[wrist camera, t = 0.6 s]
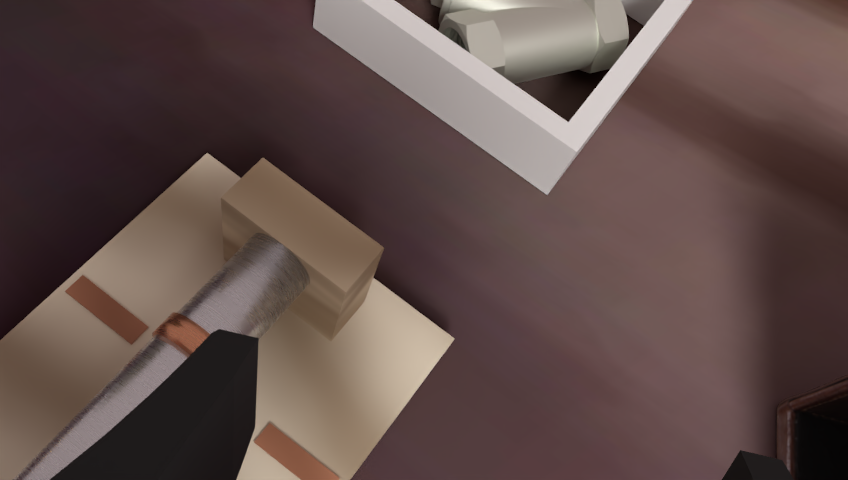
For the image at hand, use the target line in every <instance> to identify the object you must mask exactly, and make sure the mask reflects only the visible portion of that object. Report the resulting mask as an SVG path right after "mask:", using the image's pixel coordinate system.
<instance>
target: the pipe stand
mask: <svg viewBox="0 0 848 480" xmlns="http://www.w3.org/2000/svg"><path fill="white" fill-rule="evenodd" d="M256 233H262V234H266V235H268V236H270V237H272V238H274V239H276V240H277V241H279V242H280V243H282V244H283V245H284V246H285V247H287V248H288V249H289V250H290V251H291V252H292V253H293V254H294V255H295V256H296V257H297V258H298V259H299V260H300V261H301V263H302V264H303V265H304V267H305V268H306V270H307V272H308V274H309V277H310V284H309V285H308V286H307V287H306V288H305V289H304V291H303V292H302V293H301V294H300V295H299V296H298V297H297V298H296V299H295V301H294V302H293V303H292V304H291V305H290V306H289V307H288V308H287V309H286V311H285V312H284V313H283V314H282V315H281V316H280V317H279V318H278V319H277V321H276V322H275V323H274V324H273V325H272V326H271V327H270V328H269V329H268V331H267V332H266V333H265V334H264V335H263V336H262V337H261V338H260V340H259V343H258V368H257V394H256V419H255V429H254V432H253V435H252V438H251V440H250V443H249V446H248V449H247V452H246V455H245V458H244V460H243V463H242V466H241V469H240V471H239V474H238V477H237V479H236V480H350V479H351V478H352V477H353V475H354V474H355V473H356V471H357V470H358V469H359V467H360V466H361V464H362V463H363V462H364V460H365V459H366V458H367V456H368V455H369V454H370V452H371V451H372V450H373V448H374V447H375V446H376V444H377V443H378V442H379V440H380V439H381V438H382V436H383V435H384V434H385V432H386V431H387V429H388V428H389V427H390V425H391V424H392V423H393V421H394V420H395V419H396V417H397V416H398V415H399V413H400V412H401V411H402V409H403V408H404V407H405V405H406V404H407V403H408V401H409V400H410V399H411V397H412V396H413V395H414V393H415V392H416V390H417V389H418V388H419V386H420V385H421V384H422V382H423V381H424V380H425V378H426V377H427V376H428V374H429V373H430V372H431V370H432V369H433V368H434V366H435V365H436V364H437V362H438V361H439V360H440V358H441V357H442V355H443V354H444V353H445V351H446V350H447V349H448V347H449V346H450V345H451V343H452V342H453V340H454V338H453V337H452V336H450V335H449V334H448V333H446V332H445V331H444V330H442V329H441V328H440V327H438V326H437V325H436V324H434V323H433V322H432V321H430V320H429V319H428V318H426V317H425V316H424V315H422V314H421V313H420V312H418V311H417V310H416V309H414V308H413V307H412V306H410V305H409V304H408V303H406V302H405V301H404V300H402V299H401V298H400V297H398V296H397V295H396V294H394V293H393V292H392V291H390V290H389V289H388V288H386V287H385V286H384V285H383V284H381V283H380V282H379V281H377V280H376V279H375V278H373V277H374V274H375V271H376V269H377V266H378V263H379V261H380V258H381V255H382V252H383V250H384V247H382V246H381V245H380V244H378V243H377V242H376V241H374V240H373V239H372V238H370V237H369V236H368V235H366V234H365V233H364V232H362V231H361V230H360V229H358V228H357V227H355V226H354V225H353V224H351V223H350V222H349V221H347V220H346V219H345V218H343V217H342V216H341V215H339V214H338V213H337V212H335V211H334V210H333V209H331V208H330V207H329V206H327V205H326V204H325V203H323V202H322V201H321V200H319V199H318V198H317V197H315V196H314V195H313V194H311V193H310V192H309V191H307V190H306V189H304V188H303V187H302V186H300V185H299V184H298V183H296V182H295V181H294V180H292V179H291V178H290V177H288V176H287V175H286V174H284V173H283V172H282V171H280V170H279V169H278V168H276V167H275V166H274V165H272V164H271V163H270V162H268V161H267V160H266V159H264V158H262V159H261V160H260V161H259V162H257V163H256V164H255V165H254V166H253V167H252V168H251V169H250V170H249V171H248V172H247V173H246V174H245V175H244V176H243V177H242V178H240V177H239V176H237V175H236V174H235V173H233V172H232V171H231V170H229V169H228V168H227V167H226V166H224V165H223V164H222V163H220V162H219V161H218V160H216V159H215V158H214V157H212V156H211V155H210V154H208V153H206V154H205V155H204V156H203V157H202V158H201V159H200V160H199V161H198V162H196V163H195V164H194V165H193V166H192V167H191V168H190V169H189V170H188V171H186V172H185V173H184V174H183V175H182V176H181V177H180V178H179V179H178V180H177V181H175V182H174V183H173V184H172V185H171V186H170V187H169V188H168V189H167V190H166V191H164V192H163V193H162V194H161V195H160V196H159V197H158V198H157V199H156V200H154V201H153V202H152V203H151V204H150V205H149V206H148V207H147V208H146V209H145V210H143V211H142V212H141V213H140V214H139V215H138V216H137V217H136V218H135V219H134V220H132V221H131V222H130V223H129V224H128V225H127V226H126V227H125V228H124V229H122V230H121V231H120V232H119V233H118V234H117V235H116V236H115V237H114V238H113V239H111V240H110V241H109V242H108V243H107V244H106V245H105V246H104V247H103V248H102V249H100V250H99V251H98V252H97V253H96V254H95V255H94V256H93V257H92V258H90V259H89V260H88V261H87V262H86V263H85V264H84V265H83V266H82V267H81V268H79V269H78V270H77V271H76V272H75V273H74V274H73V275H72V276H71V277H70V278H68V279H67V280H66V281H65V282H64V283H63V284H62V285H61V286H60V287H58V288H57V289H56V290H55V291H54V292H53V293H52V294H51V295H50V296H49V297H47V298H46V299H45V300H44V301H43V302H42V303H41V304H40V305H39V306H38V307H36V308H35V309H34V310H33V311H32V312H31V313H30V314H29V315H28V316H26V317H25V318H24V319H23V320H22V321H21V322H20V323H19V324H18V325H17V326H15V327H14V328H13V329H12V330H11V331H10V332H9V333H8V334H7V335H6V336H4V337H3V338H2V339H1V340H0V480H13V479H14V478H15V477H16V476H17V475H18V474H19V473H20V472H21V471H22V470H23V469H24V468H25V467H26V466H27V465H28V464H29V463H30V462H31V461H32V459H33V458H34V457H35V456H36V455H37V454H38V453H39V452H40V451H41V450H42V449H43V448H44V447H45V446H46V445H47V444H48V443H49V442H50V441H51V440H52V439H53V438H54V437H55V436H56V435H57V434H58V433H59V432H60V431H61V430H62V429H63V428H64V427H65V426H66V425H67V424H68V423H69V422H70V421H71V420H72V419H73V418H74V417H75V416H76V415H77V414H78V413H79V412H80V411H81V410H82V409H83V408H84V407H85V406H86V405H87V404H88V403H89V402H90V401H91V400H92V399H93V398H94V397H95V396H96V394H97V393H98V392H99V391H100V390H101V389H102V388H103V387H104V386H105V385H106V384H107V383H108V382H109V381H110V380H111V379H112V378H113V377H114V376H115V375H116V374H117V373H118V372H119V371H120V370H121V369H122V368H123V367H124V366H125V365H126V364H127V363H128V362H129V361H130V360H131V359H132V358H133V357H134V356H135V355H136V354H137V353H138V352H139V351H140V350H141V349H142V348H143V347H144V346H145V345H146V344H147V343H148V342H149V341H150V340H151V339H152V338H153V336H152V333H153V332H154V331H155V330H156V329H157V328H158V327H159V326H160V325H161V324H162V323H163V322H164V321H165V320H166V319H167V318H168V317H169V316H170V315H171V314H172V313H173V312H176V313H177V312H178V311H179V310H180V309H181V308H182V307H183V306H184V305H185V304H186V303H187V302H188V301H189V300H190V299H191V298H192V297H193V296H194V295H195V294H196V293H197V292H198V291H199V290H200V289H201V288H202V287H203V286H204V285H205V284H206V283H207V282H208V281H209V280H210V279H211V278H212V277H213V276H214V275H215V274H216V273H217V272H218V271H219V270H220V269H221V268H222V266H223V265H224V264H225V263H226V262H227V261H228V260H229V259H230V258H231V257H232V256H233V255H234V254H235V253H236V252H237V251H238V250H239V249H240V248H241V247H242V246H243V245H244V244H245V243H246V242H247V241H248V240H249V239H250V238H251V237H252V236H253V235H254V234H256Z"/></svg>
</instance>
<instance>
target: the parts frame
mask: <svg viewBox="0 0 848 480" xmlns="http://www.w3.org/2000/svg"><path fill="white" fill-rule="evenodd" d="M692 1H693V0H621V2H622V4H623V7H624V10H625V13H626V14H627V15H628V16H630V17H631V18H633V19H634V20H636V21H637V22H639V23H640V24H642V25H643V26H644V27H643V28H642V30H641V31H640V32H639V33H638V35H637V36H636V37H635V39H634V40H633V41H632V42H631V44H630V45H629V46H628V47H627V49H626V50H625V51H624V53H623V54H622V55H621V56H620V58H619V59H618V60H617V61H616V63H615V64H614V65H613V66H612V68H611V69H610V70H609V72H608V73H607V74H606V75H605V77H604V78H603V79H602V80H601V82H600V83H599V84H598V86H597V87H596V88H595V89H594V91H593V92H592V93H591V94H590V96H589V97H588V98H587V99H586V101H585V102H584V103H583V105H582V106H581V107H580V108H579V110H578V111H577V112H576V113H575V115H574V116H573V117H572V118H571V120H570V121H569V122H567V121H566V120H564V119H563V118H562V117H560V116H559V115H557V114H556V113H554V112H553V111H552V110H550V109H549V108H547V107H546V106H544V105H543V104H542V103H540V102H539V101H537V100H536V99H534V98H533V97H532V96H530V95H529V94H527V93H526V92H524V91H523V90H522V89H520V88H519V87H517V86H516V85H514V84H513V83H512V82H510V81H509V80H507V79H506V78H504V77H503V76H502V75H500V74H499V73H497V72H496V71H494V70H493V69H492V68H490V67H489V66H487V65H486V64H484V63H483V62H482V61H480V60H479V59H477V58H476V57H474V56H473V55H472V54H470V53H469V52H467V51H466V50H465V49H463V48H462V47H460V46H459V45H457V44H456V43H455V42H453V41H452V40H450V39H449V38H447V37H446V36H445V35H443V34H442V33H440V32H439V31H437V30H436V29H435V28H433V27H432V26H430V25H429V24H427V23H426V22H425V21H423V20H422V19H420V18H419V17H417V16H416V15H415V14H413V13H412V12H410V11H409V10H407V9H406V8H405V7H403V6H402V5H400V4H399V3H397V2H396V1H395V0H316V3H315V12H314V21H313V28H314V29H316V30H317V31H319V32H320V33H321V34H323V35H324V36H326V37H327V38H328V39H330V40H331V41H333V42H334V43H335V44H337V45H338V46H340V47H341V48H342V49H344V50H345V51H347V52H348V53H349V54H351V55H352V56H354V57H355V58H356V59H358V60H359V61H361V62H362V63H363V64H365V65H366V66H368V67H369V68H370V69H372V70H373V71H374V72H376V73H377V74H379V75H380V76H381V77H383V78H384V79H386V80H387V81H388V82H390V83H391V84H393V85H394V86H395V87H397V88H398V89H400V90H401V91H402V92H404V93H405V94H407V95H408V96H409V97H411V98H412V99H414V100H415V101H416V102H418V103H419V104H421V105H422V106H423V107H425V108H426V109H428V110H429V111H430V112H432V113H433V114H435V115H436V116H437V117H439V118H440V119H442V120H443V121H444V122H446V123H447V124H449V125H450V126H451V127H453V128H454V129H456V130H457V131H458V132H460V133H461V134H463V135H464V136H465V137H467V138H468V139H470V140H471V141H472V142H474V143H475V144H477V145H478V146H479V147H481V148H482V149H484V150H485V151H486V152H488V153H489V154H490V155H492V156H493V157H495V158H496V159H497V160H499V161H500V162H502V163H503V164H504V165H506V166H507V167H509V168H510V169H511V170H513V171H514V172H516V173H517V174H518V175H520V176H521V177H523V178H524V179H525V180H527V181H528V182H530V183H531V184H532V185H534V186H535V187H537V188H538V189H539V190H541V191H542V192H544V193H545V194H546V195H548V193H549V192H550V191H551V189H552V188H553V187H554V186H555V184H556V183H557V182H558V180H559V179H560V178H561V176H562V175H563V174H564V172H565V171H566V170H567V168H568V167H569V166H570V164H571V163H572V162H573V160H574V159H575V158H576V156H577V155H578V154H579V152H580V151H581V150H582V148H583V147H584V146H585V144H586V143H587V142H588V141H589V139H590V138H591V137H592V135H593V134H594V133H595V131H596V130H597V129H598V127H599V126H600V125H601V123H602V122H603V121H604V119H605V118H606V117H607V115H608V114H609V113H610V111H611V110H612V109H613V107H614V106H615V105H616V103H617V102H618V101H619V100H620V98H621V97H622V96H623V94H624V93H625V92H626V90H627V89H628V88H629V86H630V85H631V84H632V82H633V81H634V80H635V78H636V77H637V76H638V74H639V73H640V72H641V70H642V69H643V68H644V66H645V65H646V64H647V62H648V61H649V60H650V59H651V57H652V56H653V55H654V53H655V52H656V51H657V49H658V48H659V47H660V45H661V44H662V43H663V41H664V40H665V39H666V37H667V36H668V35H669V33H670V32H671V31H672V29H673V28H674V27H675V25H676V24H677V22H678V21H679V20H680V18H681V17H682V15H683V14H684V13H685V11H686V10H687V8H688V7H689V6H690V4H691V3H692Z"/></svg>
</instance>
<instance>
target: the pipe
mask: <svg viewBox="0 0 848 480" xmlns="http://www.w3.org/2000/svg"><path fill="white" fill-rule="evenodd" d="M309 284H310V277H309V274H308V272H307V270H306V268H305V267H304V265H303V264H302V263H301V261H300V260H299V259H298V258H297V257H296V256H295V255H294V254H293V253H292V252H291V251H290V250H289V249H288V248H287V247H285V246H284V245H283V244H282V243H280V242H279V241H277V240H276V239H274V238H272V237H270V236H268V235H266V234H262V233H256V234H254V235H253V236H252V237H251V238H250V239H249V240H248V241H247V242H246V243H245V244H244V245H243V246H242V247H241V248H240V249H239V250H238V251H237V252H236V253H235V254H234V255H233V256H232V257H231V258H230V259H229V260H228V261H227V262H226V263H225V264H224V265H223V266H222V268H221V269H220V270H219V271H218V272H217V273H216V274H215V275H214V276H213V277H212V278H211V279H210V280H209V281H208V282H207V283H206V284H205V285H204V286H203V287H202V288H201V289H200V290H199V291H198V292H197V293H196V294H195V295H194V296H193V297H192V298H191V299H190V300H189V301H188V302H187V303H186V304H185V305H184V306H183V307H182V308H181V309H180V310H179V311H178V312H177V313H176V312H173V313H172V314H171V315H170V316H169V317H168V318H167V319H166V320H165V321H164V322H163V323H162V324H161V325H160V326H159V327H158V328H157V329H156V330H155V331H154V332H153V333H152V336H153V338H152V339H151V340H150V341H149V342H148V343H147V344H146V345H145V346H144V347H143V348H142V349H141V350H140V351H139V352H138V353H137V354H136V355H135V356H134V357H133V358H132V359H131V360H130V361H129V362H128V363H127V364H126V365H125V366H124V367H123V368H122V369H121V370H120V371H119V372H118V373H117V374H116V375H115V376H114V377H113V378H112V379H111V380H110V381H109V382H108V383H107V384H106V385H105V386H104V387H103V388H102V389H101V390H100V391H99V392H98V393H97V394H96V396H95V397H94V398H93V399H92V400H91V401H90V402H89V403H88V404H87V405H86V406H85V407H84V408H83V409H82V410H81V411H80V412H79V413H78V414H77V415H76V416H75V417H74V418H73V419H72V420H71V421H70V422H69V423H68V424H67V425H66V426H65V427H64V428H63V429H62V430H61V431H60V432H59V433H58V434H57V435H56V436H55V437H54V438H53V439H52V440H51V441H50V442H49V443H48V444H47V445H46V446H45V447H44V448H43V449H42V450H41V451H40V452H39V453H38V454H37V455H36V456H35V457H34V458H33V459H32V461H31V462H30V463H29V464H28V465H27V466H26V467H25V468H24V469H23V470H22V471H21V472H20V473H19V474H18V475H17V476H16V477H15V478H14V479H13V480H50V479H51V478H52V477H53V476H55V475H56V474H57V473H59V472H60V471H61V470H62V469H63V468H65V467H66V466H67V465H68V464H70V463H71V462H72V461H73V460H75V459H76V458H77V457H78V456H79V455H81V454H82V453H83V452H84V451H86V450H87V449H88V448H89V447H91V446H92V445H93V444H94V443H95V442H97V441H98V440H99V439H100V438H102V437H103V436H104V435H105V434H106V433H107V432H109V431H110V430H111V429H112V428H113V427H114V426H115V425H116V424H118V423H119V422H120V421H121V420H122V419H123V418H124V417H125V416H127V415H128V414H129V413H130V412H131V411H132V410H133V409H134V408H135V407H137V406H138V405H139V404H140V403H141V402H142V401H143V400H144V399H145V398H147V397H148V396H149V395H150V394H151V393H152V392H153V391H154V390H155V389H156V388H157V387H158V386H159V385H160V384H161V383H162V382H164V381H165V380H166V379H167V378H168V377H169V376H170V375H171V374H172V373H173V372H174V371H175V370H176V369H177V368H178V367H179V366H180V365H181V364H182V363H183V362H184V361H185V360H186V359H187V358H188V357H189V356H190V355H191V354H192V353H193V352H194V351H195V350H196V349H197V348H198V347H199V346H200V345H201V344H202V343H203V342H204V340H205V339H206V338H207V337H208V336H209V335H210V334H211V333H212V332H214V331H216V330H218V329H222V330H226V331H230V332H235V333H239V334H243V335H247V336H252V337H256V338H259V340H260V338H261V337H262V336H263V335H264V334H265V333H266V332H267V331H268V329H269V328H270V327H271V326H272V325H273V324H274V323H275V322H276V321H277V319H278V318H279V317H280V316H281V315H282V314H283V313H284V312H285V311H286V309H287V308H288V307H289V306H290V305H291V304H292V303H293V302H294V301H295V299H296V298H297V297H298V296H299V295H300V294H301V293H302V292H303V291H304V289H305V288H306V287H307V286H308V285H309Z"/></svg>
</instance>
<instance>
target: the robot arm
mask: <svg viewBox="0 0 848 480" xmlns="http://www.w3.org/2000/svg"><path fill="white" fill-rule="evenodd" d="M258 343H259V338H256V337H252V336H247V335H243V334H239V333H235V332H230V331H226V330H222V329H218V330H216V331H214V332H212V333H211V334H210V335H209V336H208V337H207V338H206V339H205V340H204V342H203V343H202V344H201V345H200V346H199V347H198V348H197V349H196V350H195V351H194V352H193V353H192V354H191V355H190V356H189V357H188V358H187V359H186V360H185V361H184V362H183V363H182V364H181V365H180V366H179V367H178V368H177V369H176V370H175V371H174V372H173V373H172V374H171V375H170V376H169V377H168V378H167V379H166V380H165V381H164V382H162V383H161V384H160V385H159V386H158V387H157V388H156V389H155V390H154V391H153V392H152V393H151V394H150V395H149V396H148V397H147V398H145V399H144V400H143V401H142V402H141V403H140V404H139V405H138V406H137V407H135V408H134V409H133V410H132V411H131V412H130V413H129V414H128V415H127V416H125V417H124V418H123V419H122V420H121V421H120V422H119V423H118V424H116V425H115V426H114V427H113V428H112V429H111V430H110V431H109V432H107V433H106V434H105V435H104V436H103V437H102V438H100V439H99V440H98V441H97V442H95V443H94V444H93V445H92V446H91V447H89V448H88V449H87V450H86V451H84V452H83V453H82V454H81V455H79V456H78V457H77V458H76V459H75V460H73V461H72V462H71V463H70V464H68V465H67V466H66V467H65V468H63V469H62V470H61V471H60V472H59V473H57V474H56V475H55V476H53V477H52V478H51V479H50V480H236V479H237V477H238V474H239V471H240V469H241V466H242V463H243V460H244V458H245V455H246V452H247V449H248V446H249V443H250V440H251V438H252V435H253V432H254V429H255V419H256V394H257V368H258ZM722 480H794V479H793V477H792V475H791V474H790V472H789V470H788V469H787V467H786V465H785V464H784V462H783V460H779V459H775V458H771V457H767V456H762V455H758V454H754V453H749V452H745V451H741V450H740V452H739V454H738V455H737V457H736V458H735V460H734V461H733V463H732V465H731V466H730V468H729V469H728V471H727V472H726V474H725V476H724V477H723V479H722Z"/></svg>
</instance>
